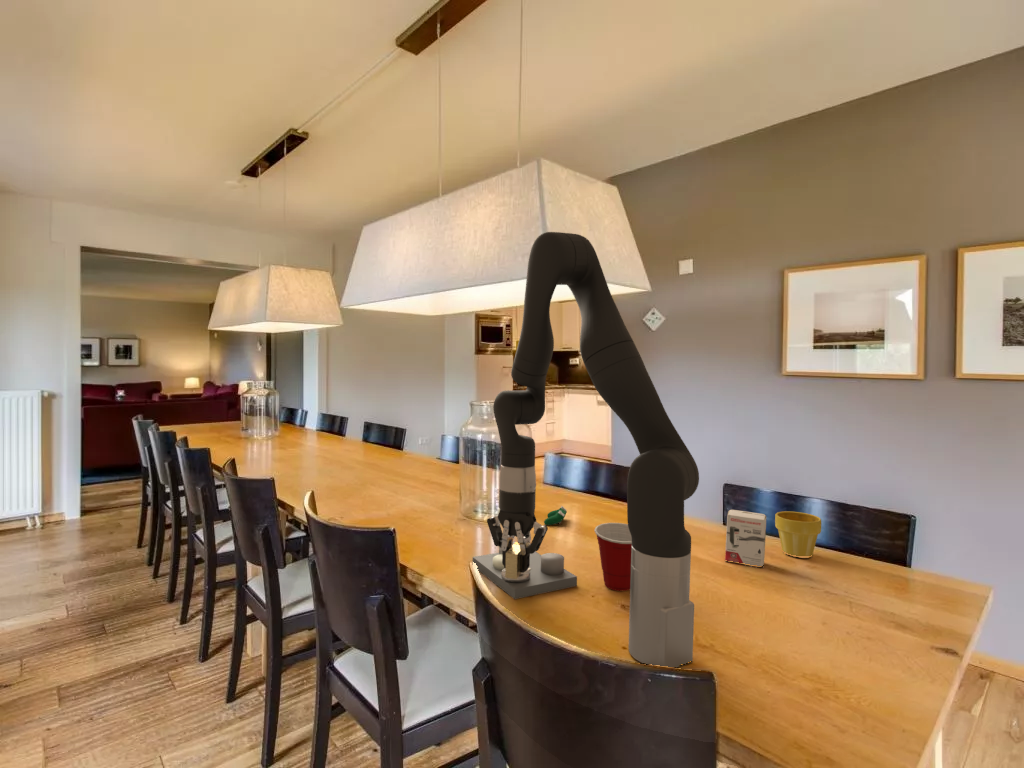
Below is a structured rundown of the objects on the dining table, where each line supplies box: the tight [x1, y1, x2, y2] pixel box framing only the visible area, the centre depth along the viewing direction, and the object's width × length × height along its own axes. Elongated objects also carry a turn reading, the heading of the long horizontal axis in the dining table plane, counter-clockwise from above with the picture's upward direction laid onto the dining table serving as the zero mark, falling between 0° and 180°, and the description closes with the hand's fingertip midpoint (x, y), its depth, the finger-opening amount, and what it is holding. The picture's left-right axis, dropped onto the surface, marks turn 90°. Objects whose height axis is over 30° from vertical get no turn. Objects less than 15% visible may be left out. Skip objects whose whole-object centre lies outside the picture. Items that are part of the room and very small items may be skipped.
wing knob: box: [501, 541, 530, 583], centre depth 112 cm, size 7×6×6 cm
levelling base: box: [472, 540, 578, 600], centre depth 119 cm, size 20×15×5 cm
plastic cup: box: [594, 522, 632, 592], centre depth 114 cm, size 11×11×12 cm
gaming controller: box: [543, 505, 568, 526], centre depth 161 cm, size 9×4×6 cm
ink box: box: [724, 509, 767, 567], centre depth 130 cm, size 9×5×12 cm, turn 62°
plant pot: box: [774, 510, 822, 556], centre depth 136 cm, size 10×10×10 cm
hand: (515, 569), depth 112 cm, fingers closed on wing knob, 3 cm apart
